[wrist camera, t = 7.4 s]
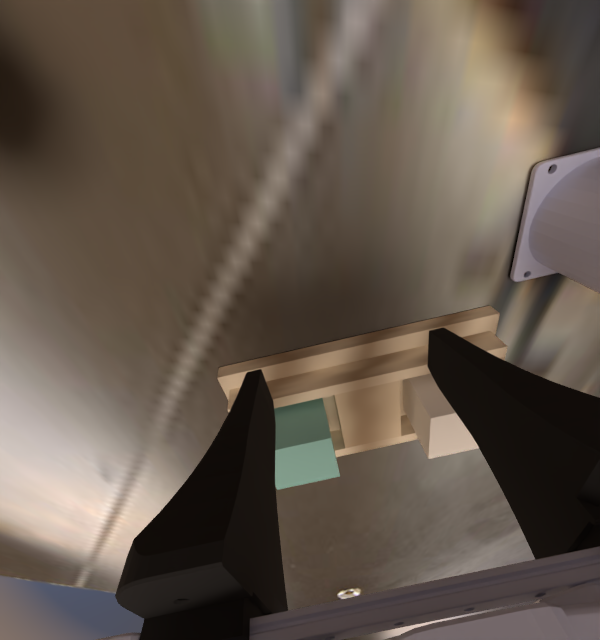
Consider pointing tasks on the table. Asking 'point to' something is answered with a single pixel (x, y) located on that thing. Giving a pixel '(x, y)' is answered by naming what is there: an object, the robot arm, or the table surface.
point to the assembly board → (362, 376)
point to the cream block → (434, 418)
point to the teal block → (303, 445)
